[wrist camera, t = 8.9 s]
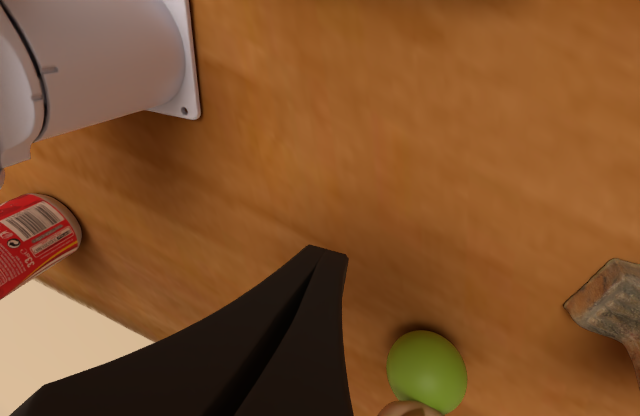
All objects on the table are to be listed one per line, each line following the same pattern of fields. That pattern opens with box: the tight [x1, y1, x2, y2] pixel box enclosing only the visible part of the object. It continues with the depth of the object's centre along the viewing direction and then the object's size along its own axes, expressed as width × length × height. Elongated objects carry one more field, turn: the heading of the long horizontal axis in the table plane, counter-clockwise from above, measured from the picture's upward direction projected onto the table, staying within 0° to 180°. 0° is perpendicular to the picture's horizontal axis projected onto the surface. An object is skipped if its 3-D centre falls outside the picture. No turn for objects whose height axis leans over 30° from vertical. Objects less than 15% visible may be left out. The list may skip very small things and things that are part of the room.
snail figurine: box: [377, 330, 467, 416], centre depth 20 cm, size 5×6×12 cm
